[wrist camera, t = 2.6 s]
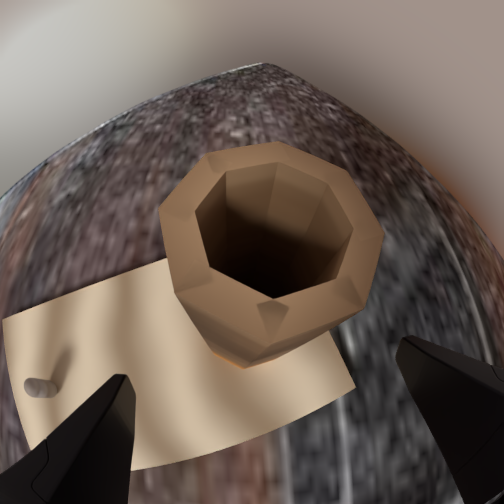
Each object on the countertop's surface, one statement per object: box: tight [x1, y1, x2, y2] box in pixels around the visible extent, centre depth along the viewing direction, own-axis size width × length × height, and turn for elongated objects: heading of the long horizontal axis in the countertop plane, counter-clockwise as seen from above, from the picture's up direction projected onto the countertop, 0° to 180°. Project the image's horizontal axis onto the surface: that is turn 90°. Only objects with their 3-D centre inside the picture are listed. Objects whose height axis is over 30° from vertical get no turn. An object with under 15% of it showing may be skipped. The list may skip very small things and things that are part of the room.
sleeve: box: [158, 141, 385, 370], centre depth 12 cm, size 5×5×13 cm
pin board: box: [2, 258, 356, 470], centre depth 15 cm, size 26×14×5 cm, turn 113°
